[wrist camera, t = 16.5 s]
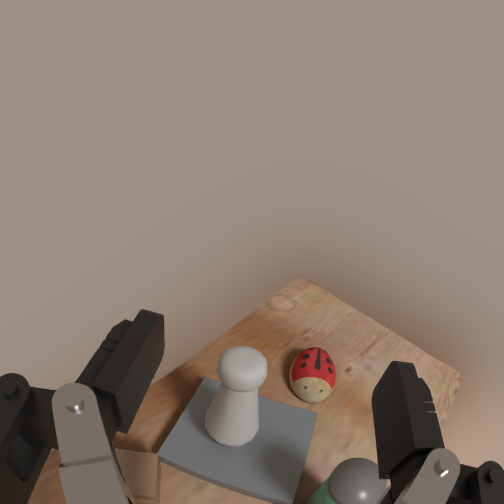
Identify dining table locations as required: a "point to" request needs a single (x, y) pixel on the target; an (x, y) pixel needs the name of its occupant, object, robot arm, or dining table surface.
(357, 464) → the dark green jar
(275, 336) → the dining table surface
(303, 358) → the ladybug figurine
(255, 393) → the salt shaker
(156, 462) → the brown wooden block
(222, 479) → the cutting board
